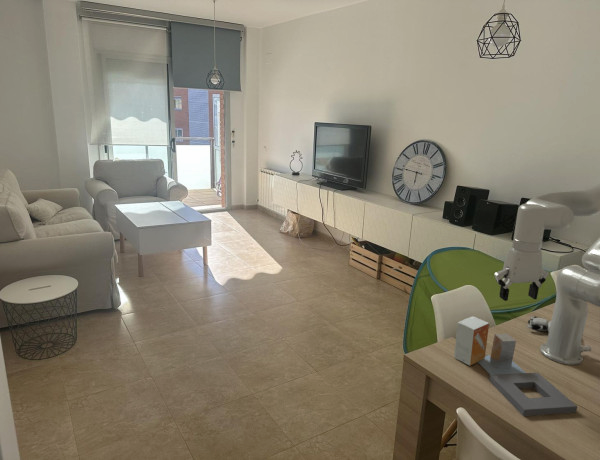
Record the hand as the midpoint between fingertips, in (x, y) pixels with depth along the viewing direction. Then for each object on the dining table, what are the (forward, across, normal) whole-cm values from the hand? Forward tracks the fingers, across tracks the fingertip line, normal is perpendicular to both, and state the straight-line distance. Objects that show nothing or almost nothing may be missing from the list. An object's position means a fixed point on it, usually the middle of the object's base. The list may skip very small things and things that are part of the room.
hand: (517, 298), depth 133 cm
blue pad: (+24, +3, 0) cm, 24 cm away
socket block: (+24, +2, +15) cm, 28 cm away
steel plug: (+23, +2, 0) cm, 23 cm away
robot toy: (+25, -31, -21) cm, 45 cm away
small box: (+23, +10, -5) cm, 26 cm away
